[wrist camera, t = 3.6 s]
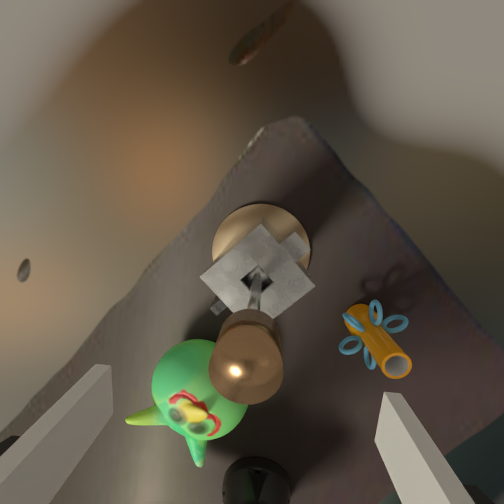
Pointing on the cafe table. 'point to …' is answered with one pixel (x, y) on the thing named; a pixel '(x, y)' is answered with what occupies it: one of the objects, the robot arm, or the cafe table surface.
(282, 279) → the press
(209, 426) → the toy bird
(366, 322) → the cylinder
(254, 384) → the plunger
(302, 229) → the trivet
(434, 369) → the cafe table surface
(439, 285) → the cafe table surface
